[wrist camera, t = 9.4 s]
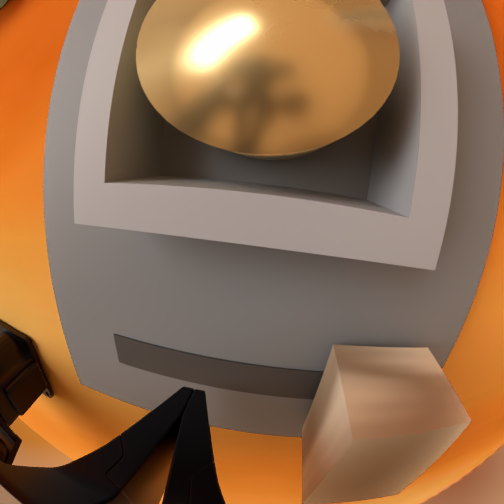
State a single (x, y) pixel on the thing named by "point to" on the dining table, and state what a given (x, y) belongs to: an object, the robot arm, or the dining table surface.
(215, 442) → the dining table surface
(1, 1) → the cupcake
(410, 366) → the tan rectangular prism
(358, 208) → the panel
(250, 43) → the button
